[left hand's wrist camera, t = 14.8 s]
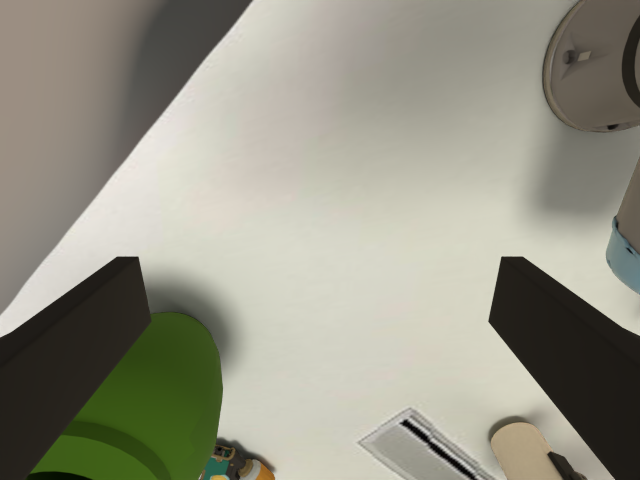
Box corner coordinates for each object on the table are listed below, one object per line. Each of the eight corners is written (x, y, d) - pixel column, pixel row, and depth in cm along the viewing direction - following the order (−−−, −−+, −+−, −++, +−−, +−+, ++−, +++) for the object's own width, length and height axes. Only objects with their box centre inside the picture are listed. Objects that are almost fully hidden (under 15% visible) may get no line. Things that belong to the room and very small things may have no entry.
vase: (271, 326, 50) (231, 502, 28) (204, 406, 56) (124, 608, 33) (153, 252, 46) (-9, 388, 23) (92, 346, 52) (-86, 531, 29)
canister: (504, 417, 55) (556, 503, 43) (549, 428, 56) (613, 515, 44) (482, 452, 58) (525, 542, 46) (526, 462, 59) (579, 553, 47)
